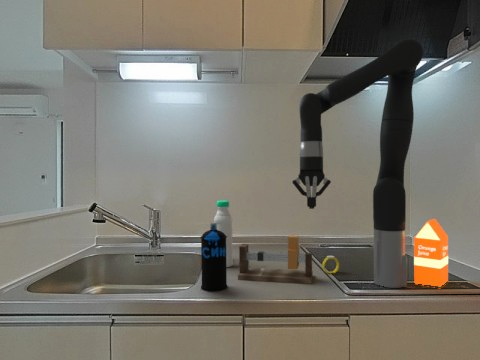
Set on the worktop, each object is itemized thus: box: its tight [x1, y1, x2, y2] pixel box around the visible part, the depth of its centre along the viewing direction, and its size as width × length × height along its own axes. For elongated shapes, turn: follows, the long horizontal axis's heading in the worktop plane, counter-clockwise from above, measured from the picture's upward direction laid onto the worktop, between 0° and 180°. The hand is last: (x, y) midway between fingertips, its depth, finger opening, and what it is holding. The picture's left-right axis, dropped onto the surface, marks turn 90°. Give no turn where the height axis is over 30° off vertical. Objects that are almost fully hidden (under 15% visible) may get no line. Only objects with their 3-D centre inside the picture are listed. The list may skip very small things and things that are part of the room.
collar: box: [287, 234, 300, 270], centre depth 125 cm, size 3×6×10 cm, turn 166°
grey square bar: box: [246, 250, 306, 263], centre depth 126 cm, size 20×3×3 cm, turn 76°
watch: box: [321, 255, 340, 274], centre depth 132 cm, size 6×3×6 cm, turn 106°
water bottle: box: [213, 200, 234, 268], centre depth 143 cm, size 7×7×25 cm
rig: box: [237, 243, 314, 285], centre depth 126 cm, size 24×10×10 cm, turn 76°
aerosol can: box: [199, 222, 228, 292], centre depth 116 cm, size 8×8×20 cm
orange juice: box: [413, 218, 449, 287], centre depth 118 cm, size 8×9×20 cm
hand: (311, 208), depth 123 cm, fingers closed
